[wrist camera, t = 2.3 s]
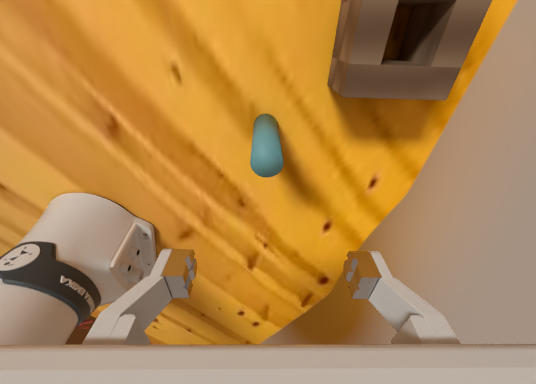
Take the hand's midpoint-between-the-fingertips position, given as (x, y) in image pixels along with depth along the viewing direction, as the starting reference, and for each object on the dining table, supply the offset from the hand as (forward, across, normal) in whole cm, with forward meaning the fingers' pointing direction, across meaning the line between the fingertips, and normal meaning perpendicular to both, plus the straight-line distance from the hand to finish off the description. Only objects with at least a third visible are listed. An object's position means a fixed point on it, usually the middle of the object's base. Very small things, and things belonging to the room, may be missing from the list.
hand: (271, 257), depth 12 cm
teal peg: (+21, 0, 0) cm, 21 cm away
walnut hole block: (+21, -12, -10) cm, 26 cm away
